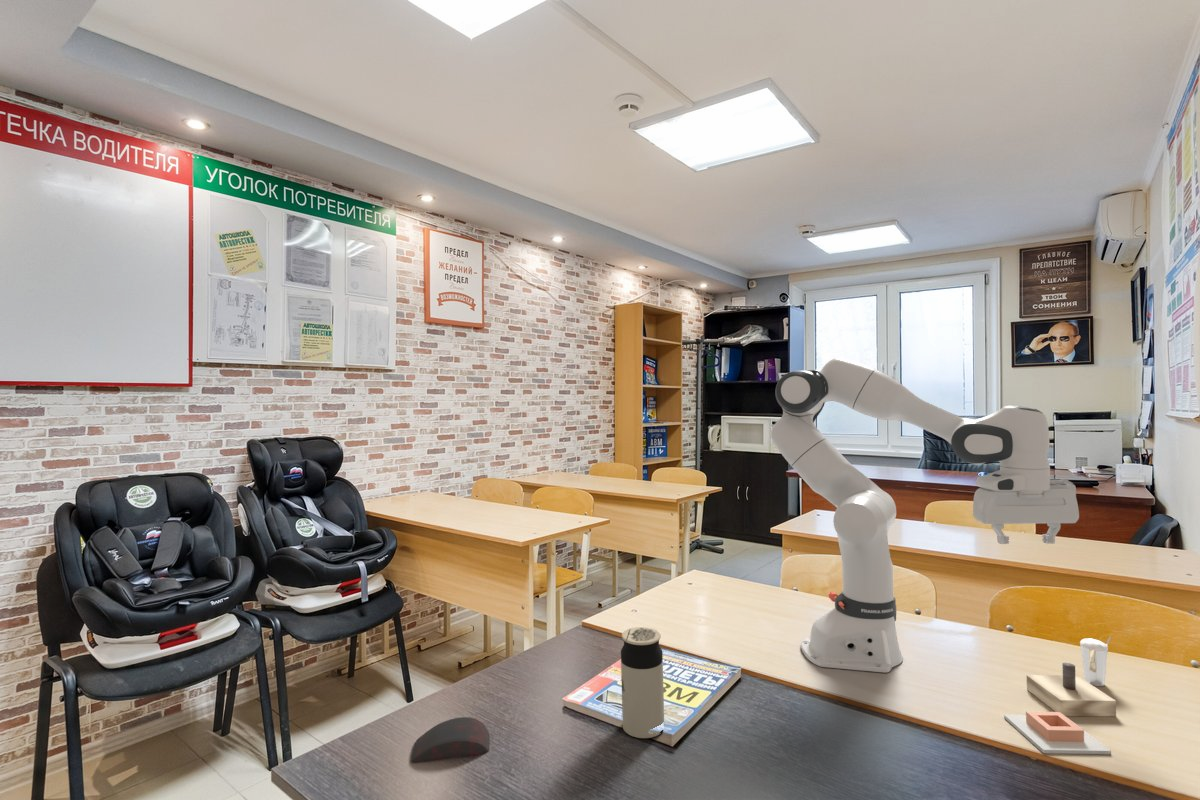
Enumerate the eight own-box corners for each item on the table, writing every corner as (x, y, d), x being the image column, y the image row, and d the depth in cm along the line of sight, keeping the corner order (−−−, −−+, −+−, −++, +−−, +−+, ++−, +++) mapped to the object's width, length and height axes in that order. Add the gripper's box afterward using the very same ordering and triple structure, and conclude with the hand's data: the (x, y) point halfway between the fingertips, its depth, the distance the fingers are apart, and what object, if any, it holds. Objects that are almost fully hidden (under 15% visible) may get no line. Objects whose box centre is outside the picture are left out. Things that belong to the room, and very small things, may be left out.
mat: (1043, 753, 101) (1043, 749, 101) (1004, 717, 112) (1004, 714, 112) (1110, 754, 100) (1110, 750, 100) (1064, 718, 111) (1064, 715, 111)
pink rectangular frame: (1048, 741, 104) (1048, 730, 104) (1026, 722, 110) (1025, 711, 110) (1084, 741, 103) (1083, 730, 103) (1059, 722, 109) (1059, 712, 109)
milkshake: (1118, 689, 121) (1117, 641, 121) (1088, 687, 123) (1088, 639, 122) (1104, 678, 126) (1103, 632, 126) (1075, 676, 127) (1075, 631, 127)
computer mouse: (489, 757, 105) (488, 735, 105) (410, 768, 103) (409, 745, 103) (489, 732, 113) (489, 711, 113) (416, 741, 111) (415, 720, 110)
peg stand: (1061, 715, 112) (1060, 676, 112) (1026, 689, 122) (1026, 653, 122) (1116, 716, 112) (1115, 677, 112) (1077, 689, 122) (1076, 653, 122)
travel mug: (668, 719, 115) (666, 628, 114) (659, 743, 107) (656, 645, 107) (629, 713, 117) (627, 624, 117) (617, 736, 110) (615, 640, 110)
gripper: (1064, 477, 130) (1065, 539, 130) (968, 478, 131) (969, 540, 132) (1086, 481, 124) (1087, 546, 124) (984, 483, 125) (986, 547, 125)
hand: (1025, 543), depth 128 cm, fingers open, 8 cm apart
